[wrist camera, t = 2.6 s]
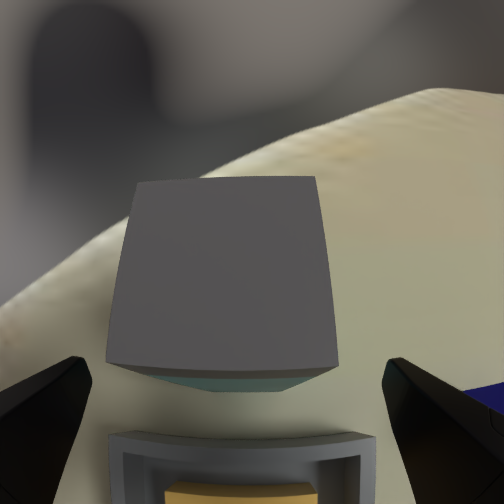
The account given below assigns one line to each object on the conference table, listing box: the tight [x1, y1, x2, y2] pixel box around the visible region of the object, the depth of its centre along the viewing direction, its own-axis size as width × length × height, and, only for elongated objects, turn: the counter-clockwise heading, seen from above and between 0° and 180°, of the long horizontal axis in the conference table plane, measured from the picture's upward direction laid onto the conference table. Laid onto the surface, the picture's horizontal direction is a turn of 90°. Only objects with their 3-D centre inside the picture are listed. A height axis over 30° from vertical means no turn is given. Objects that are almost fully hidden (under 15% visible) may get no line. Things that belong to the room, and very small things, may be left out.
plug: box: [106, 176, 339, 392], centre depth 11 cm, size 4×4×13 cm
